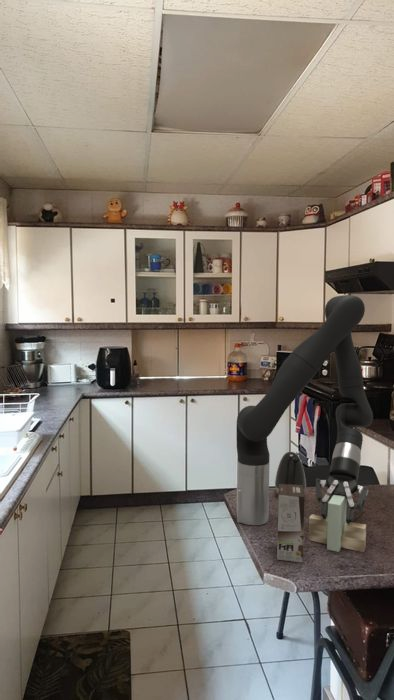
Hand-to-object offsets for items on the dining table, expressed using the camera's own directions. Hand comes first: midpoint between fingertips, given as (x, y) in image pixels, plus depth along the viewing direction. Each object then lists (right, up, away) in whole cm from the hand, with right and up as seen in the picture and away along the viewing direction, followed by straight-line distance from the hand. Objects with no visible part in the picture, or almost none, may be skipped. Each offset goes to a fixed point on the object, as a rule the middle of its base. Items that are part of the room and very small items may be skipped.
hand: (335, 519), depth 120 cm
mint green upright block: (+1, -7, +2) cm, 7 cm away
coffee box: (-13, -7, -3) cm, 15 cm away
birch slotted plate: (+1, -7, +2) cm, 7 cm away
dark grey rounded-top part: (-5, -6, +36) cm, 37 cm away
